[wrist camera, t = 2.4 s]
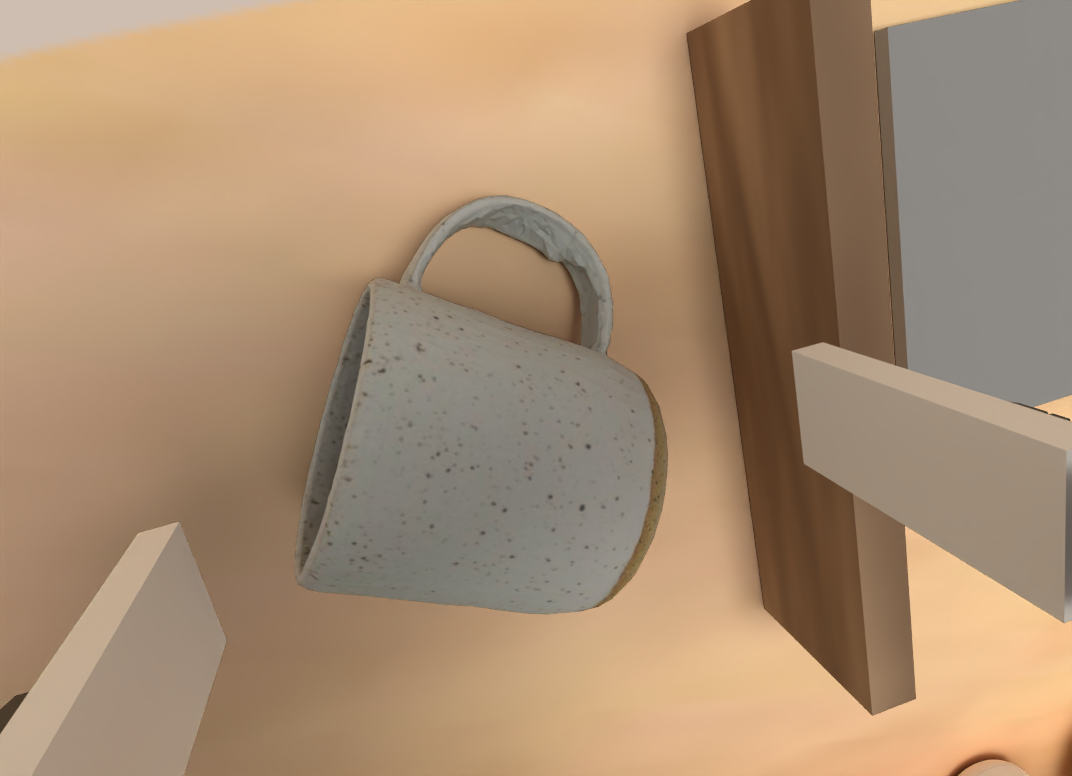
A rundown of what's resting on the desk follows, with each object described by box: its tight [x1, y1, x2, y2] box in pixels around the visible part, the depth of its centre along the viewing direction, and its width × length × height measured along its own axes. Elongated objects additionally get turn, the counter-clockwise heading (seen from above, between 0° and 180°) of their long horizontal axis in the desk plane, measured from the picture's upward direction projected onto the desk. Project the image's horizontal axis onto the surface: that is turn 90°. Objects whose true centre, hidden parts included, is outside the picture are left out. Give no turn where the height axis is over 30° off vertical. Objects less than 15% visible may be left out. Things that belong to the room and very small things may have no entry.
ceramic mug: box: [295, 195, 668, 614], centre depth 19 cm, size 11×8×8 cm
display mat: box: [874, 0, 1072, 407], centre depth 25 cm, size 12×14×1 cm
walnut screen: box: [687, 0, 916, 716], centre depth 21 cm, size 2×20×6 cm, turn 12°
